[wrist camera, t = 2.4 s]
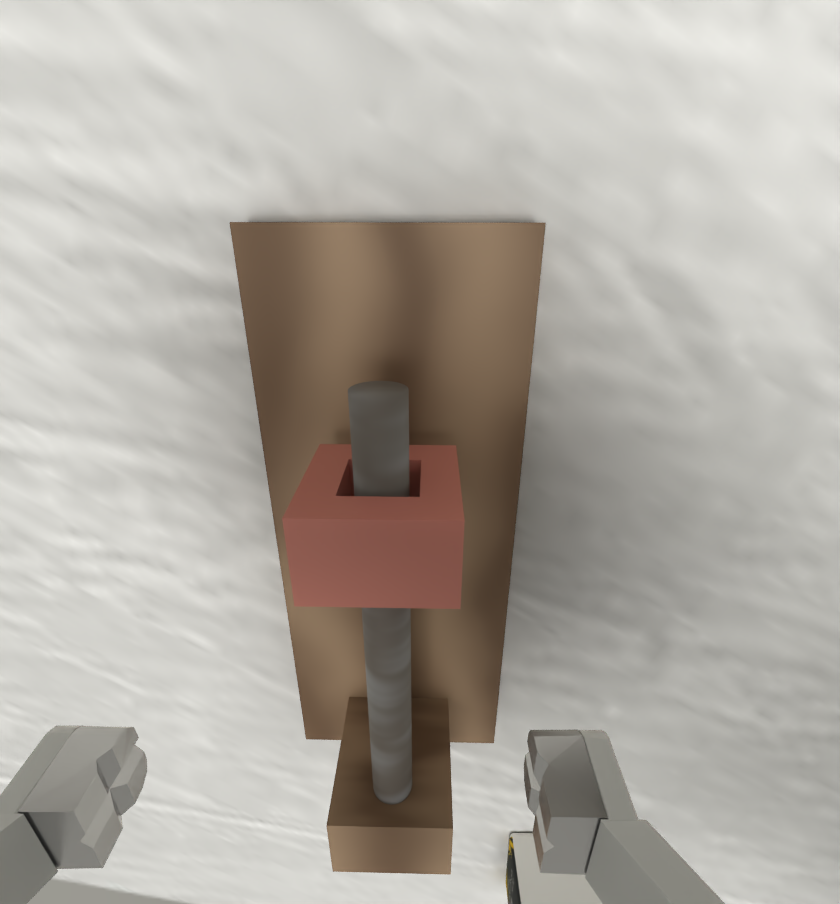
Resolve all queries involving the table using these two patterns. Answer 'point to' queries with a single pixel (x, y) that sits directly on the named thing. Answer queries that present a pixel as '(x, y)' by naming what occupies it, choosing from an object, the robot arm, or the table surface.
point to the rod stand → (396, 489)
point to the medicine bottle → (541, 878)
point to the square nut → (377, 535)
